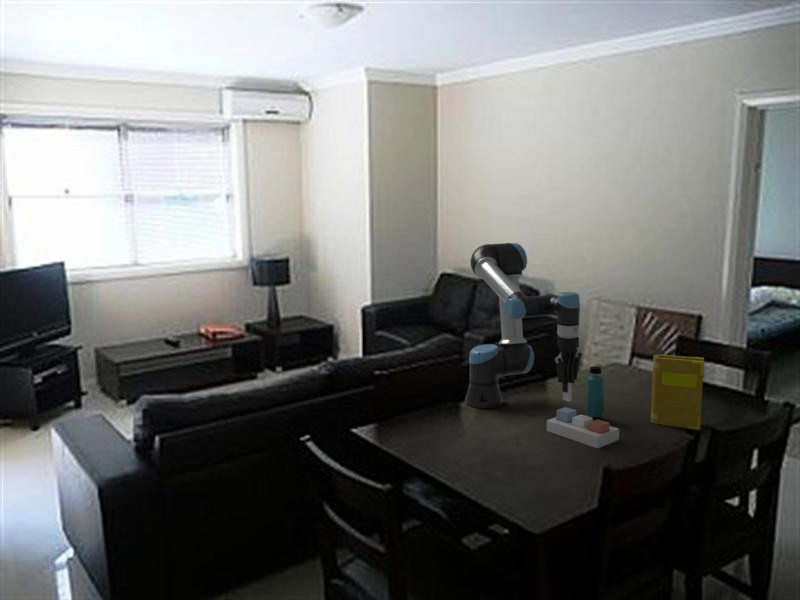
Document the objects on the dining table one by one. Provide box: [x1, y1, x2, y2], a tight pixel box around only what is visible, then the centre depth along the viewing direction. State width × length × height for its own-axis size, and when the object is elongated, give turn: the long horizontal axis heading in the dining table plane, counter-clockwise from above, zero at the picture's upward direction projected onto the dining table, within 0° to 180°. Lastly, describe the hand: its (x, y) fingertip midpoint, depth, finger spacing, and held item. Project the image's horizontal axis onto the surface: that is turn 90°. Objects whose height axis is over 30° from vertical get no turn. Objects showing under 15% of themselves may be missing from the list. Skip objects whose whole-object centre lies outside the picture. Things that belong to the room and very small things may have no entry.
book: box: [650, 354, 705, 431], centre depth 252 cm, size 17×7×25 cm, turn 65°
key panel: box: [546, 416, 620, 449], centre depth 244 cm, size 22×12×4 cm, turn 38°
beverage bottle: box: [585, 366, 605, 418], centre depth 260 cm, size 6×7×20 cm
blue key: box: [555, 406, 578, 423], centre depth 249 cm, size 5×5×5 cm
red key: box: [588, 419, 611, 434], centre depth 238 cm, size 5×5×5 cm
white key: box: [572, 414, 594, 429], centre depth 244 cm, size 5×5×5 cm
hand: (567, 400), depth 248 cm, fingers closed
